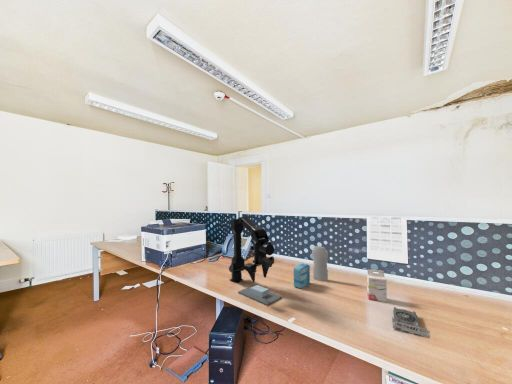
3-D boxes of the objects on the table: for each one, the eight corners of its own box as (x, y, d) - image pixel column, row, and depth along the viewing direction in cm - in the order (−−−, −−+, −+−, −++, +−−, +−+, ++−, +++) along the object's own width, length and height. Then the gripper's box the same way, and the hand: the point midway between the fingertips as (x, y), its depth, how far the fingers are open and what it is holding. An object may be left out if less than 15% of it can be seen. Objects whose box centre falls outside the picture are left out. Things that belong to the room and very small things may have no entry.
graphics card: (430, 331, 83) (393, 321, 89) (430, 341, 83) (393, 331, 89) (423, 311, 98) (391, 304, 104) (423, 320, 98) (391, 312, 104)
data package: (300, 289, 129) (299, 269, 129) (293, 287, 132) (293, 267, 132) (310, 283, 138) (309, 264, 138) (303, 281, 141) (303, 262, 141)
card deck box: (261, 297, 117) (261, 292, 117) (250, 293, 123) (250, 287, 123) (268, 294, 121) (268, 289, 121) (257, 290, 127) (257, 284, 127)
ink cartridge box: (368, 299, 115) (368, 271, 116) (367, 295, 120) (366, 268, 120) (387, 302, 112) (386, 273, 113) (385, 298, 117) (384, 270, 117)
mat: (238, 293, 125) (238, 291, 125) (252, 286, 134) (252, 285, 134) (267, 306, 110) (267, 304, 110) (281, 297, 118) (281, 296, 118)
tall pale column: (311, 278, 145) (310, 245, 146) (313, 277, 149) (313, 244, 149) (327, 282, 139) (326, 247, 140) (329, 280, 143) (328, 246, 143)
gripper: (258, 257, 110) (258, 288, 109) (280, 250, 123) (281, 278, 123) (243, 253, 117) (243, 283, 117) (265, 247, 131) (266, 274, 131)
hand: (259, 279), depth 122 cm, fingers open, 9 cm apart
